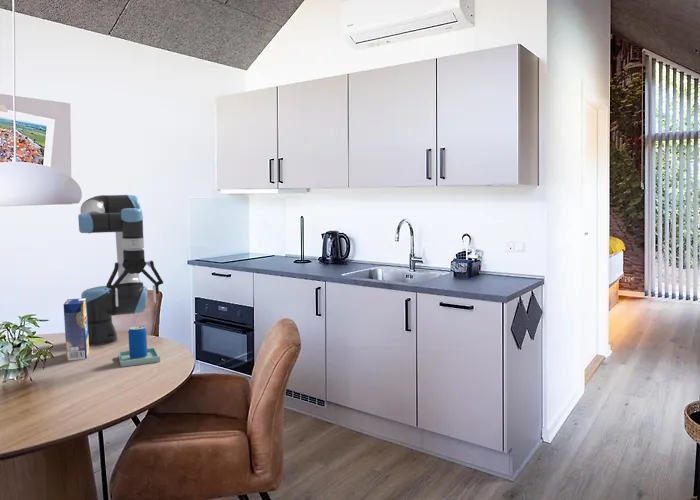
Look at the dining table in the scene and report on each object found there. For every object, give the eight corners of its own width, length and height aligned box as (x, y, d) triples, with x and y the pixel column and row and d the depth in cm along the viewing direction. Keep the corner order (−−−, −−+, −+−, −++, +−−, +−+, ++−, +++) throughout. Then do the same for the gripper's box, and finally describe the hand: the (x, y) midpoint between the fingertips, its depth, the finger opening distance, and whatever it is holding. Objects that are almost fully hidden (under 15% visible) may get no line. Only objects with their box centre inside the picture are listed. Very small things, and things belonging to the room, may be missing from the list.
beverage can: (150, 355, 220) (149, 325, 218) (142, 360, 213) (141, 329, 212) (134, 355, 220) (133, 325, 219) (126, 360, 214) (125, 329, 213)
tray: (118, 356, 220) (117, 352, 220) (155, 352, 226) (155, 347, 226) (120, 367, 208) (120, 361, 207) (160, 361, 214) (160, 356, 214)
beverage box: (89, 351, 228) (86, 298, 226) (86, 358, 218) (83, 303, 216) (70, 352, 226) (67, 299, 224) (66, 360, 216) (63, 304, 213)
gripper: (97, 252, 204) (101, 309, 206) (169, 248, 214) (171, 302, 217) (97, 249, 210) (100, 305, 213) (166, 246, 221) (168, 299, 224)
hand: (136, 304), depth 215 cm, fingers open, 13 cm apart
